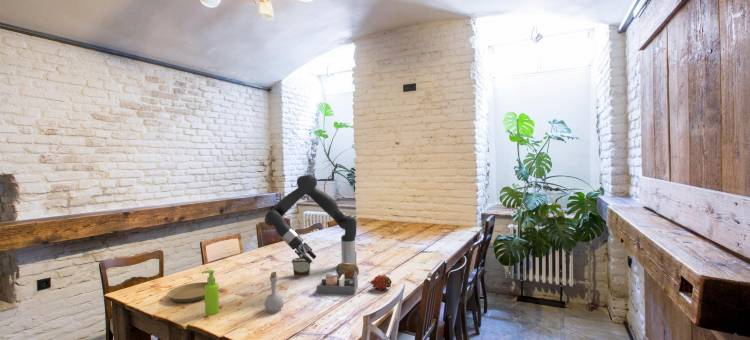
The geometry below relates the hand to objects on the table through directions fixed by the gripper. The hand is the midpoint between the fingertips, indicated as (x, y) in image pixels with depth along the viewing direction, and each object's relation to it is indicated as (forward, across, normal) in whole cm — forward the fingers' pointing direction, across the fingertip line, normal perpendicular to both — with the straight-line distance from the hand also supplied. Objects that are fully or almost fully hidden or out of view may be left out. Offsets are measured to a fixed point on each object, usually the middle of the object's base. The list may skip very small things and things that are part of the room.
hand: (313, 260), depth 193 cm
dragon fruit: (+38, +3, -15) cm, 41 cm away
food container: (+2, +24, +21) cm, 33 cm away
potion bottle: (+4, -27, +20) cm, 34 cm away
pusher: (+22, 0, -1) cm, 22 cm away
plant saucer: (-32, -13, +56) cm, 65 cm away
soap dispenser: (-17, -33, +40) cm, 54 cm away
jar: (+18, 0, +4) cm, 18 cm away
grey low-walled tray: (+22, 0, +1) cm, 22 cm away
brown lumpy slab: (+22, +22, +1) cm, 31 cm away
